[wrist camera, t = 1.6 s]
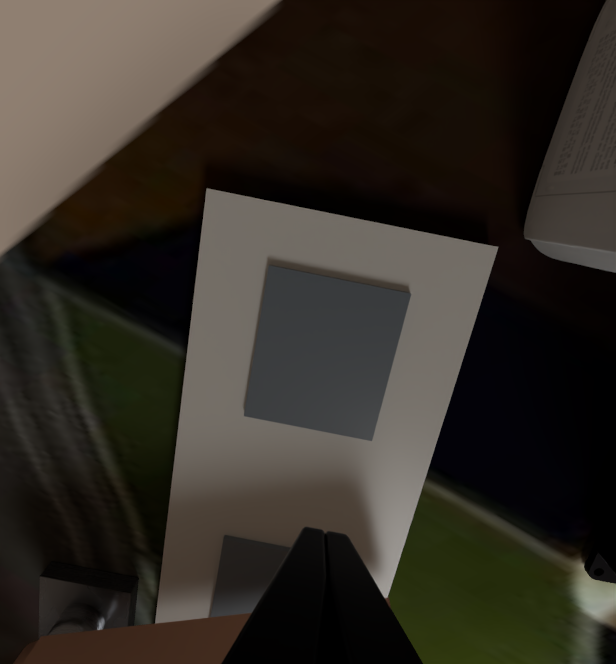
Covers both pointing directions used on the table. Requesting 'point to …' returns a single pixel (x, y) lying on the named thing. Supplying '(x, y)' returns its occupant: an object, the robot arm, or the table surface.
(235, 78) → the table surface
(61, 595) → the dark plate
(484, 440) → the table surface
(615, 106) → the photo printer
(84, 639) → the cable arm
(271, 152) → the table surface
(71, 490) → the table surface
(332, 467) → the panel
